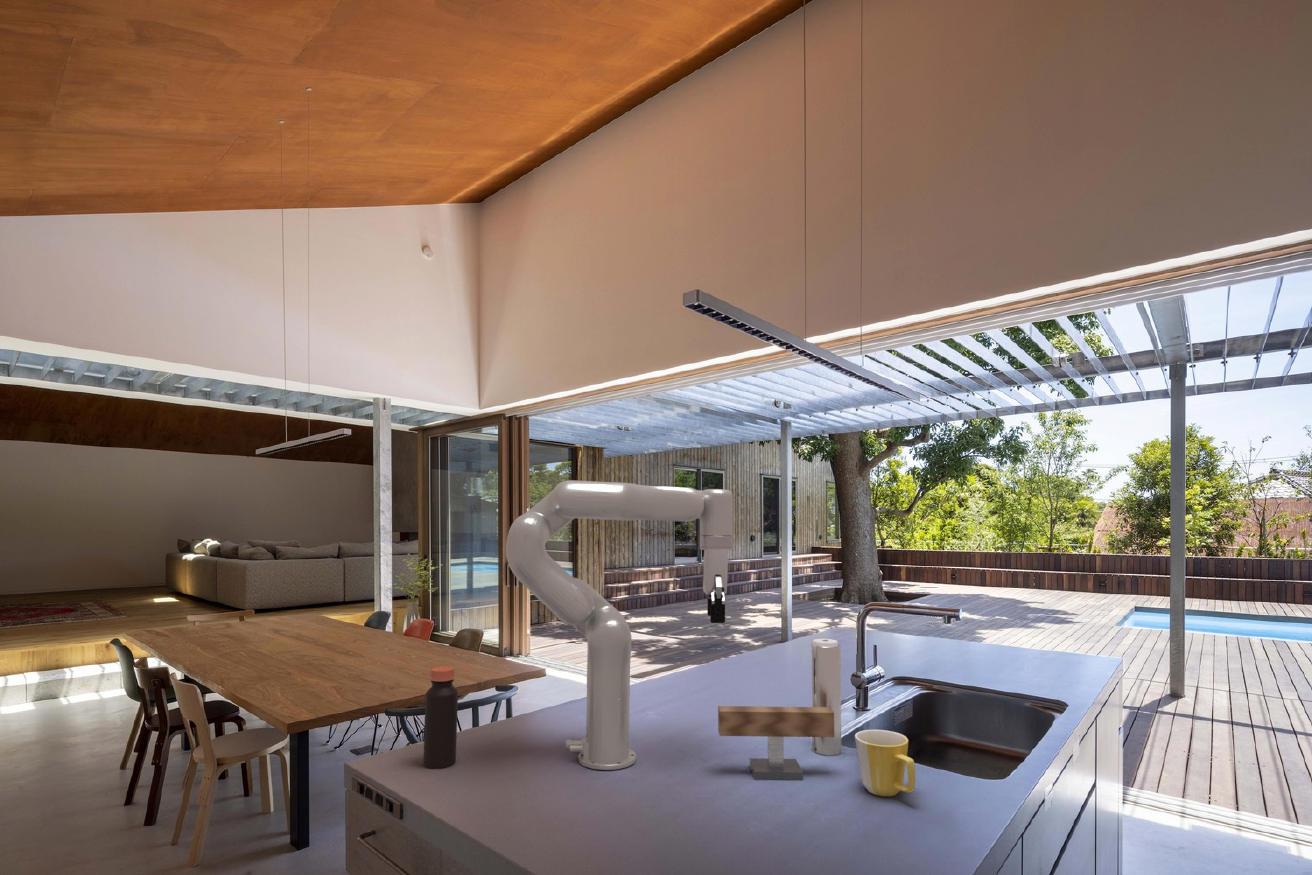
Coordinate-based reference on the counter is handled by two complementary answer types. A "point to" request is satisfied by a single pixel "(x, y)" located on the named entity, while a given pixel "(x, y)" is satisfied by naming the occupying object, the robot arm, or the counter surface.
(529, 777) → the counter surface
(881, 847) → the counter surface
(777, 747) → the ridge
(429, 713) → the bottle
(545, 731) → the counter surface
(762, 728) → the walnut beam
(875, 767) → the mug
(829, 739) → the silver metal cylinder
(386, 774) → the counter surface
